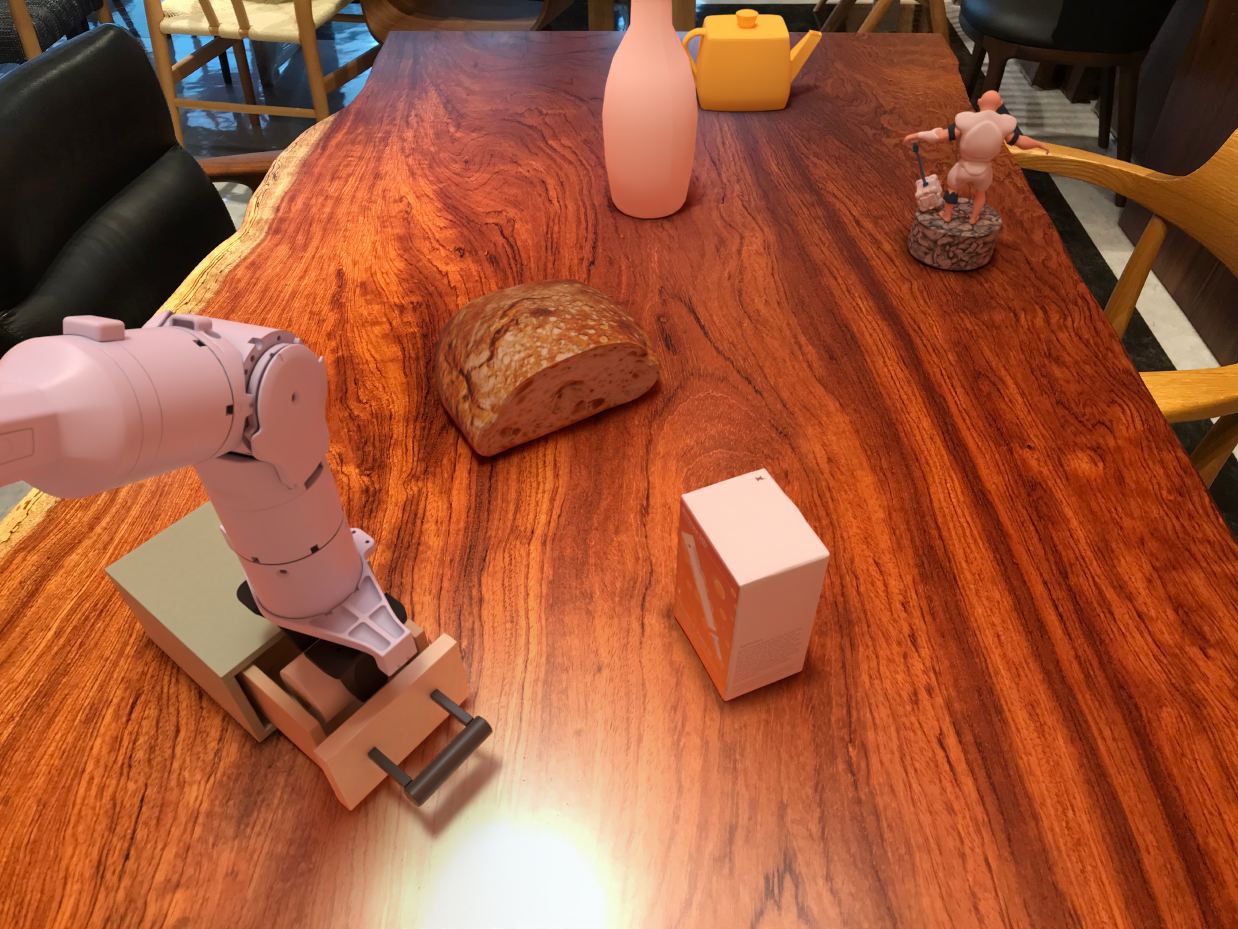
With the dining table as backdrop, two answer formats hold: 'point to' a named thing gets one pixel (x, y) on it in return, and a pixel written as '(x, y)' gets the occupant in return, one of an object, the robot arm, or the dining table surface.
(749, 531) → the small box
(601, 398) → the bread
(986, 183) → the figurine
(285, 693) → the drawer
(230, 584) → the cabinet
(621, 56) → the bottle
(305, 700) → the paper towel roll
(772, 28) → the teapot
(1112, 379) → the dining table surface
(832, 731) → the dining table surface
